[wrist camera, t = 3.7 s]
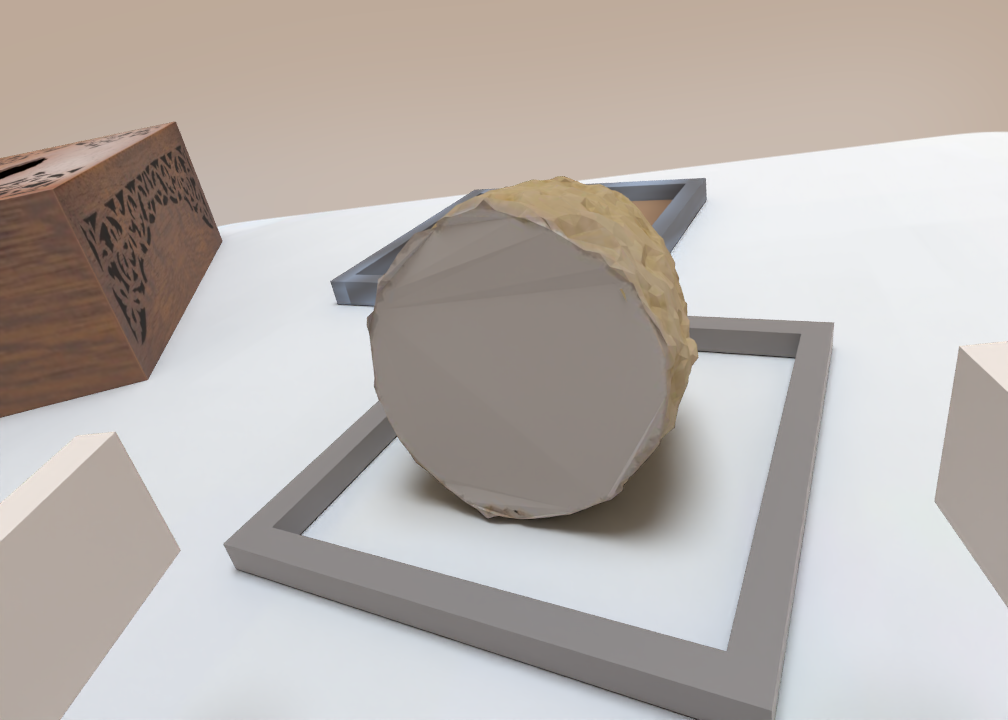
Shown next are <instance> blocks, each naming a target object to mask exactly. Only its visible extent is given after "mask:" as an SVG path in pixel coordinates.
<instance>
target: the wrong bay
mask: <svg viewBox="0 0 1008 720" xmlns="http://www.w3.org/2000/svg"><path fill="white" fill-rule="evenodd" d="M687 317H688V319H689V320H690V326H689V334H690V336H689V337H690V338H691V339H693V340H695V342H696V344H697V350H698V351H710V352H725V353H739V354H754V355H768V356H783V357H796V358H795V363H794V367H793V371H792V375H791V380H790V384H789V388H788V392H787V397H786V401H785V405H784V409H783V414H782V418H781V422H780V426H779V431H778V435H777V439H776V443H775V448H774V452H773V456H772V460H771V465H770V469H769V473H768V477H767V482H766V486H765V490H764V494H763V499H762V503H761V507H760V511H759V516H758V520H757V524H756V528H755V533H754V537H753V541H752V545H751V550H750V554H749V558H748V562H747V567H746V571H745V575H744V579H743V584H742V588H741V592H740V596H739V601H738V605H737V609H736V613H735V618H734V622H733V626H732V630H731V635H730V639H729V643H728V647H727V652H726V651H723V650H719V649H715V648H712V647H708V646H704V645H701V644H697V643H693V642H690V641H686V640H682V639H679V638H675V637H671V636H668V635H664V634H660V633H657V632H653V631H650V630H646V629H642V628H639V627H635V626H631V625H628V624H624V623H620V622H617V621H613V620H609V619H606V618H602V617H598V616H595V615H591V614H587V613H584V612H580V611H576V610H573V609H569V608H565V607H562V606H558V605H554V604H551V603H547V602H543V601H540V600H536V599H532V598H529V597H525V596H521V595H518V594H514V593H510V592H507V591H503V590H499V589H496V588H492V587H489V586H485V585H481V584H478V583H474V582H470V581H467V580H463V579H459V578H456V577H452V576H448V575H445V574H441V573H437V572H434V571H430V570H426V569H423V568H419V567H415V566H412V565H408V564H404V563H401V562H397V561H393V560H390V559H386V558H382V557H379V556H375V555H371V554H368V553H364V552H360V551H357V550H353V549H349V548H346V547H342V546H338V545H335V544H331V543H328V542H324V541H320V540H317V539H313V538H309V537H306V536H302V535H300V534H301V533H302V532H303V531H304V530H305V529H306V528H307V527H308V526H309V525H310V524H311V523H312V522H313V521H314V520H315V519H316V518H317V517H318V516H319V515H320V514H321V513H322V512H323V511H324V509H325V508H326V507H327V506H328V505H329V504H330V503H331V502H332V501H333V500H334V499H335V498H336V497H337V496H338V495H339V494H340V493H341V492H342V491H343V490H344V489H345V488H346V487H347V486H348V485H349V484H350V483H351V482H352V481H353V480H354V479H355V478H356V477H357V476H358V475H359V474H360V473H361V472H362V471H363V470H364V469H365V467H366V466H367V465H368V464H369V463H370V462H371V461H372V460H373V459H374V458H375V457H376V456H377V455H378V454H379V453H380V452H381V451H382V450H383V449H384V448H385V447H386V446H387V445H388V444H389V443H390V442H391V441H392V440H393V439H394V438H395V437H396V436H397V434H396V433H395V431H394V429H393V428H392V426H391V424H390V422H389V421H388V418H387V415H386V413H385V410H384V408H383V405H382V403H381V402H380V401H378V402H377V403H376V404H375V405H373V406H372V407H371V408H370V409H369V410H368V411H367V412H366V413H365V414H364V415H363V416H362V417H360V418H359V419H358V420H357V421H356V422H355V423H354V424H353V425H352V426H351V427H350V428H349V429H347V430H346V431H345V432H344V433H343V434H342V435H341V436H340V437H339V438H338V439H337V440H336V441H334V442H333V443H332V444H331V445H330V446H329V447H328V448H327V449H326V450H325V451H324V452H322V453H321V454H320V455H319V456H318V457H317V458H316V459H315V460H314V461H313V462H312V463H311V464H309V465H308V466H307V467H306V468H305V469H304V470H303V471H302V472H301V473H300V474H299V475H298V476H296V477H295V478H294V479H293V480H292V481H291V482H290V483H289V484H288V485H287V486H286V487H285V488H283V489H282V490H281V491H280V492H279V493H278V494H277V495H276V496H275V497H274V498H273V499H272V500H270V501H269V502H268V503H267V504H266V505H265V506H264V507H263V508H262V509H261V510H260V511H258V512H257V513H256V514H255V515H254V516H253V517H252V518H251V519H250V520H249V521H248V522H247V523H245V524H244V525H243V526H242V527H241V528H240V529H239V530H238V531H237V532H236V533H235V534H234V535H232V536H231V537H230V538H229V539H228V540H227V541H226V542H225V543H224V546H225V548H226V550H227V552H228V554H229V556H230V558H231V560H232V562H233V564H234V566H235V568H236V569H239V570H242V571H245V572H248V573H251V574H254V575H257V576H260V577H263V578H266V579H269V580H272V581H275V582H278V583H282V584H285V585H288V586H291V587H294V588H297V589H300V590H303V591H306V592H309V593H312V594H315V595H318V596H321V597H325V598H328V599H331V600H334V601H337V602H340V603H343V604H346V605H349V606H352V607H355V608H358V609H361V610H364V611H367V612H371V613H374V614H377V615H380V616H383V617H386V618H389V619H392V620H395V621H398V622H401V623H404V624H407V625H410V626H414V627H417V628H420V629H423V630H426V631H429V632H432V633H435V634H438V635H441V636H444V637H447V638H450V639H453V640H456V641H460V642H463V643H466V644H469V645H472V646H475V647H478V648H481V649H484V650H487V651H490V652H493V653H496V654H499V655H502V656H506V657H509V658H512V659H515V660H518V661H521V662H524V663H527V664H530V665H533V666H536V667H539V668H542V669H545V670H549V671H552V672H555V673H558V674H561V675H564V676H567V677H570V678H573V679H576V680H579V681H582V682H585V683H588V684H591V685H595V686H598V687H601V688H604V689H607V690H610V691H613V692H616V693H619V694H622V695H625V696H628V697H631V698H634V699H638V700H641V701H644V702H647V703H650V704H653V705H656V706H659V707H662V708H665V709H668V710H671V711H674V712H677V713H680V714H684V715H687V716H690V717H693V718H696V719H699V720H775V715H776V709H777V702H778V696H779V689H780V683H781V676H782V670H783V663H784V657H785V650H786V644H787V637H788V631H789V625H790V618H791V612H792V605H793V599H794V592H795V586H796V579H797V573H798V566H799V560H800V553H801V547H802V540H803V534H804V528H805V521H806V515H807V508H808V502H809V495H810V489H811V482H812V476H813V469H814V463H815V456H816V450H817V443H818V437H819V430H820V424H821V418H822V411H823V405H824V398H825V392H826V385H827V379H828V372H829V366H830V359H831V353H832V346H833V331H834V323H831V322H809V321H787V320H765V319H742V318H720V317H698V316H687Z"/></svg>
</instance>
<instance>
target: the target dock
mask: <svg viewBox="0 0 1008 720" xmlns="http://www.w3.org/2000/svg"><path fill="white" fill-rule="evenodd" d="M599 184H601V185H603V186H605V187H607V188H609V189H611V190H615V191H617V192H619V193H622V194H623V195H624V196H625V197H627V198H629V200H630V201H631V202H632V203H633V204H635V205H636V207H637V208H638V209H639V210H640V211H641V212H642V214H643V215H644V217H645V218H646V219H647V221H648V222H649V223H650V225H651V226H652V227H653V228H654V229H655V231H656V232H657V233H658V234H659V235H660V236H661V237H662V238H663V239H664V243H665V246H666V248H667V249H668V251H669V252H671V251H672V249H673V248H674V246H675V245H676V243H677V242H678V240H679V239H680V238H681V236H682V235H683V233H684V232H685V230H686V229H687V227H688V226H689V224H690V223H691V222H692V220H693V219H694V217H695V216H696V214H697V213H698V211H699V210H700V209H701V207H702V206H703V204H704V203H705V201H706V200H707V199H706V178H697V179H678V180H658V181H638V182H619V183H599ZM585 185H596V184H585ZM489 190H496V189H482V190H474V191H472V192H471V193H469V194H468V195H466V196H464V197H463V198H461V199H460V200H458V201H456V202H455V203H453V204H452V205H450V206H449V207H447V208H445V209H444V210H442V211H441V212H439V213H438V214H436V215H434V216H433V217H431V218H430V219H428V220H426V221H425V222H423V223H422V224H420V225H419V226H417V227H415V228H414V229H412V230H411V231H409V232H408V233H406V234H404V235H403V236H401V237H400V238H398V239H396V240H395V241H393V242H392V243H390V244H389V245H387V246H385V247H384V248H382V249H381V250H379V251H378V252H376V253H374V254H373V255H371V256H370V257H368V258H366V259H365V260H363V261H362V262H360V263H359V264H357V265H355V266H354V267H352V268H351V269H349V270H348V271H346V272H344V273H343V274H341V275H340V276H338V277H336V278H335V279H333V280H332V281H330V282H331V285H332V288H333V291H334V294H335V297H336V300H337V303H338V304H349V305H370V306H375V300H376V294H377V283H378V279H379V278H381V277H382V276H383V275H385V273H386V272H387V270H388V269H389V267H390V266H391V264H392V263H393V261H394V260H395V258H396V256H397V254H398V253H399V252H400V251H401V249H402V248H403V247H404V246H405V244H406V243H407V242H408V241H409V240H410V238H411V237H412V236H413V235H414V233H418V232H421V231H425V230H428V229H431V228H432V227H433V226H434V225H435V224H436V223H437V221H438V220H440V219H441V218H442V217H443V216H445V215H446V214H447V213H448V212H449V211H451V210H452V209H453V208H454V207H455V206H456V205H458V204H460V203H463V202H465V201H467V200H469V199H471V198H473V197H475V196H479V195H481V194H484V193H486V192H487V191H489Z"/></svg>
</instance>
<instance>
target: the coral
mask: <svg viewBox="0 0 1008 720" xmlns="http://www.w3.org/2000/svg"><path fill="white" fill-rule="evenodd" d="M689 326H690V320H689V319H688V317H687V303H686V302H685V300H684V296H683V293H682V289H681V286H680V284H679V277H678V274H677V272H676V270H675V262H674V260H673V258H672V256H671V254H670V252H669V251H668V249H667V248H666V246H665V243H664V239H663V238H662V237H661V236H660V235H659V234H658V233H657V232H656V231H655V229H654V228H653V227H652V226H651V225H650V223H649V222H648V221H647V219H646V218H645V217H644V215H643V214H642V212H641V211H640V210H639V209H638V208H637V207H636V205H635V204H633V203H632V202H631V201H630V200H629V198H627V197H625V196H624V195H623V194H622V193H619V192H617V191H615V190H611V189H609V188H607V187H605V186H603V185H601V184H596V185H585V184H582V183H580V182H578V181H575V180H572V179H570V178H567V177H565V176H564V177H563V176H560V177H555V178H553V179H550V180H541V181H540V180H530V181H526V182H523V183H520V184H517V185H515V186H511V187H504V188H501V189H496V190H489V191H487V192H486V193H484V194H481V195H479V196H475V197H473V198H471V199H469V200H467V201H465V202H463V203H460V204H458V205H456V206H455V207H454V208H453V209H452V210H451V211H449V212H448V213H447V214H446V215H445V216H443V217H442V218H441V219H440V220H438V221H437V223H436V224H435V225H434V226H433V227H432V228H431V229H428V230H425V231H421V232H418V233H414V235H413V236H412V237H411V238H410V240H409V241H408V242H407V243H406V244H405V246H404V247H403V248H402V249H401V251H400V252H399V253H398V254H397V256H396V258H395V260H394V261H393V263H392V264H391V266H390V267H389V269H388V270H387V272H386V273H385V275H383V276H382V277H381V278H379V279H378V283H377V294H376V300H375V306H374V311H373V312H372V313H371V314H370V315H369V316H368V317H367V328H368V331H369V335H370V343H371V352H372V360H373V368H374V377H375V380H374V388H375V391H376V393H377V396H378V399H379V401H380V402H381V403H382V405H383V408H384V410H385V413H386V415H387V418H388V421H389V422H390V424H391V426H392V428H393V429H394V431H395V433H396V434H397V436H398V438H399V440H400V441H401V443H402V444H403V445H404V446H405V448H406V449H407V450H408V451H409V453H410V454H411V456H412V457H413V459H414V460H415V462H416V463H417V464H419V465H420V466H421V467H423V468H424V469H425V470H427V471H428V472H429V473H431V474H432V475H433V476H434V477H435V478H436V479H437V480H438V481H439V482H440V483H441V484H442V485H443V486H445V487H446V488H447V489H448V490H450V491H451V492H453V493H454V494H455V495H457V496H458V497H459V498H460V499H462V500H463V501H464V502H466V503H467V504H469V505H471V506H472V507H474V508H476V509H477V510H478V511H479V512H480V513H482V514H483V515H484V516H485V517H486V518H491V517H495V516H502V517H506V518H517V519H533V518H544V517H552V516H559V515H570V514H573V513H576V512H578V511H581V510H583V509H586V508H589V507H591V506H594V505H596V504H599V503H602V502H604V501H608V500H611V499H612V498H614V497H615V496H616V495H617V494H619V493H620V492H621V491H622V490H623V485H624V484H625V483H626V482H627V481H628V479H629V477H630V476H632V475H633V474H634V473H635V472H636V471H637V470H638V468H639V467H640V466H641V465H642V464H643V463H644V462H645V461H646V460H647V459H648V457H649V456H650V455H651V454H652V453H653V452H654V450H655V449H656V448H657V447H658V446H659V445H660V441H661V438H663V437H664V436H665V435H666V434H668V433H669V432H670V431H671V430H672V429H673V428H675V421H676V416H677V411H678V407H679V404H680V401H681V399H682V397H683V394H684V392H685V389H686V387H687V384H688V378H689V375H690V372H691V367H692V365H693V364H694V363H695V361H696V360H697V359H698V350H697V344H696V342H695V340H693V339H691V338H690V337H689V336H690V334H689Z"/></svg>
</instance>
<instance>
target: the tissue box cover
mask: <svg viewBox="0 0 1008 720" xmlns="http://www.w3.org/2000/svg"><path fill="white" fill-rule="evenodd" d="M221 243H222V239H221V236H220V234H219V231H218V228H217V226H216V223H215V221H214V218H213V216H212V213H211V211H210V208H209V205H208V203H207V201H206V198H205V195H204V193H203V190H202V188H201V185H200V182H199V180H198V177H197V175H196V172H195V170H194V167H193V165H192V162H191V160H190V157H189V154H188V152H187V149H186V147H185V144H184V141H183V139H182V136H181V134H180V132H179V129H178V126H177V124H176V122H171V123H166V124H162V125H157V126H152V127H147V128H143V129H138V130H133V131H128V132H124V133H119V134H114V135H110V136H105V137H100V138H95V139H90V140H85V141H81V142H76V143H71V144H67V145H62V146H57V147H52V148H47V149H42V150H37V151H33V152H28V153H23V154H19V155H14V156H9V157H4V158H0V418H1V417H5V416H9V415H13V414H16V413H20V412H24V411H28V410H32V409H36V408H40V407H44V406H48V405H52V404H55V403H59V402H63V401H67V400H71V399H75V398H79V397H83V396H87V395H91V394H94V393H98V392H102V391H106V390H110V389H114V388H118V387H122V386H126V385H129V384H133V383H137V382H141V381H145V380H148V379H149V377H150V375H151V373H152V371H153V369H154V368H155V366H156V364H157V362H158V360H159V358H160V356H161V354H162V353H163V351H164V349H165V347H166V345H167V343H168V341H169V340H170V338H171V336H172V334H173V332H174V330H175V328H176V327H177V325H178V323H179V321H180V319H181V317H182V315H183V314H184V312H185V310H186V308H187V306H188V304H189V302H190V301H191V299H192V297H193V295H194V293H195V291H196V289H197V288H198V286H199V284H200V282H201V280H202V278H203V276H204V275H205V273H206V271H207V269H208V267H209V265H210V263H211V262H212V260H213V258H214V256H215V254H216V252H217V250H218V249H219V247H220V245H221Z"/></svg>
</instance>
